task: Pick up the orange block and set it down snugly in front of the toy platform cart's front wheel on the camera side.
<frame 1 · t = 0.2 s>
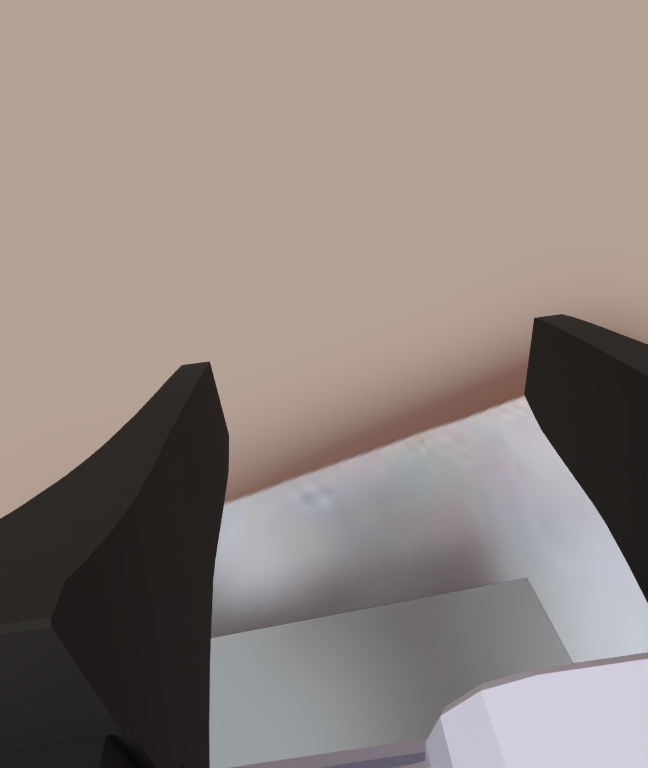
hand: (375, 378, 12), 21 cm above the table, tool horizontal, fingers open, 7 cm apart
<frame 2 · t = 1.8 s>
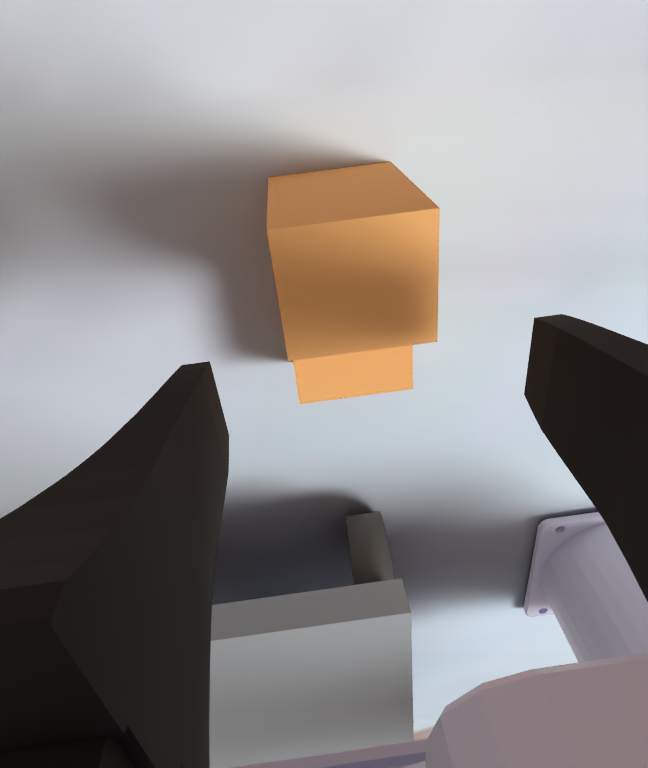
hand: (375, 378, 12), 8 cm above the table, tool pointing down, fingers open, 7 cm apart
orange block: (338, 270, 19), on the table
toy platform cart: (283, 622, 30), on the table
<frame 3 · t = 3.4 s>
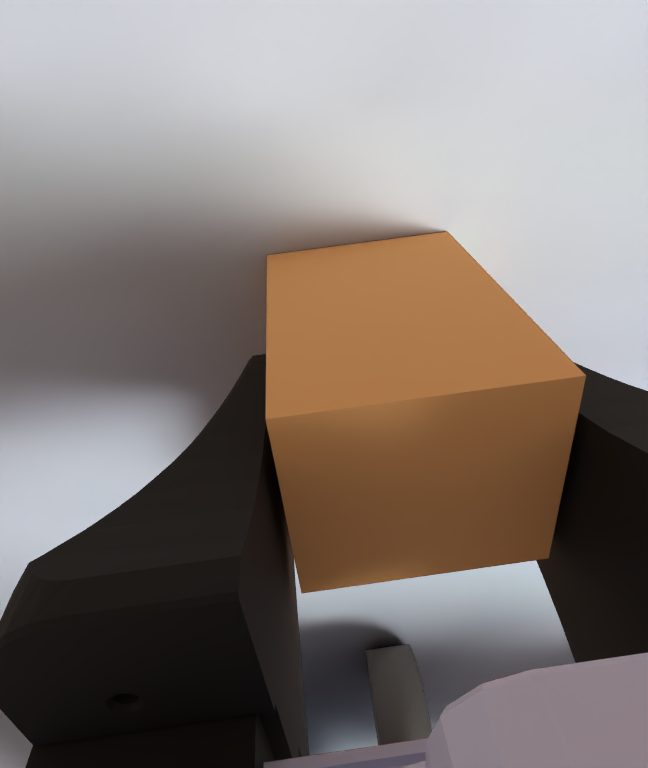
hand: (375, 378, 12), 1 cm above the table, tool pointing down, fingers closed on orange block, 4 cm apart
orange block: (366, 376, 13), on the table, touching gripper
toy platform cart: (286, 753, 24), on the table
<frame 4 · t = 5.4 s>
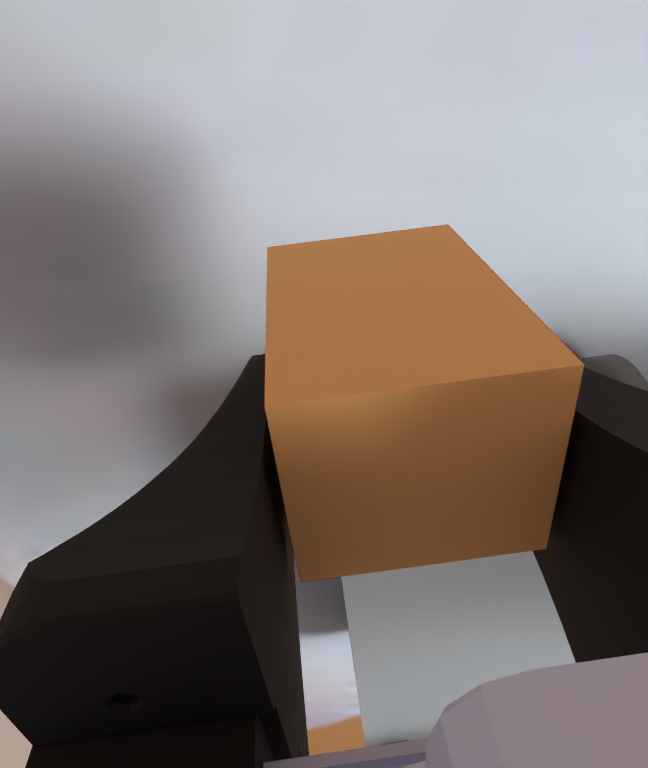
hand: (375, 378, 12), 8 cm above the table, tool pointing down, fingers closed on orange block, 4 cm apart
orange block: (366, 370, 13), point 7 cm above the table, touching gripper
toy platform cart: (451, 512, 27), on the table
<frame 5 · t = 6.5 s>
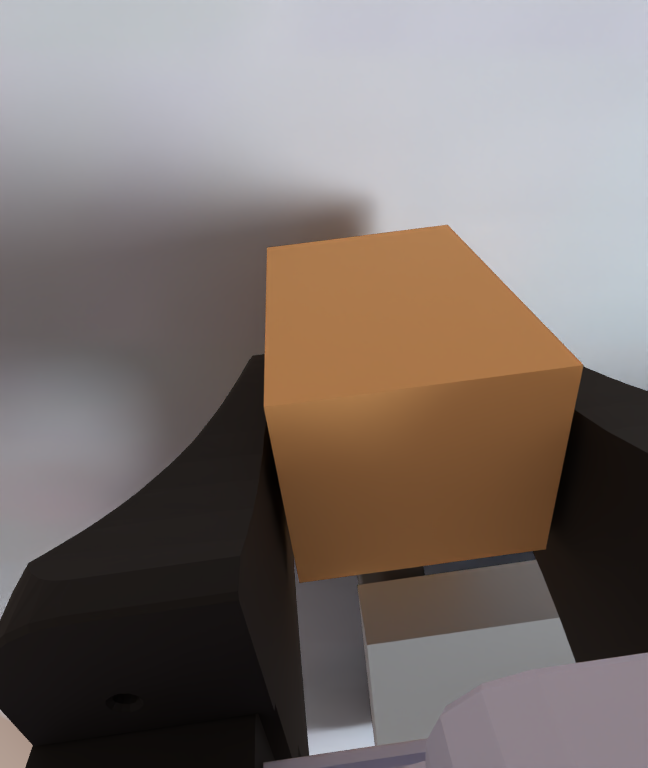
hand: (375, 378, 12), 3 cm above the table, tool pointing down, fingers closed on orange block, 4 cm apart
orange block: (366, 370, 13), point 1 cm above the table, touching gripper
toy platform cart: (496, 602, 22), on the table
when the fingers open (3 cm above the table, at t = 7.3 s): orange block drops 2 cm, on the table.
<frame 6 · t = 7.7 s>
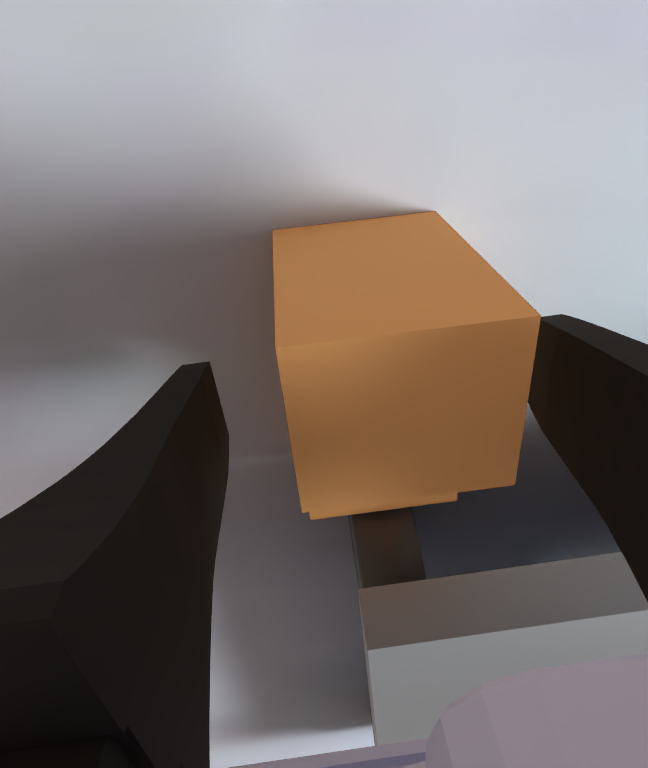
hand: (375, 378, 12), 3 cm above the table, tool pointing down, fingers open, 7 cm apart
orange block: (361, 344, 15), on the table
toy platform cart: (497, 604, 22), on the table
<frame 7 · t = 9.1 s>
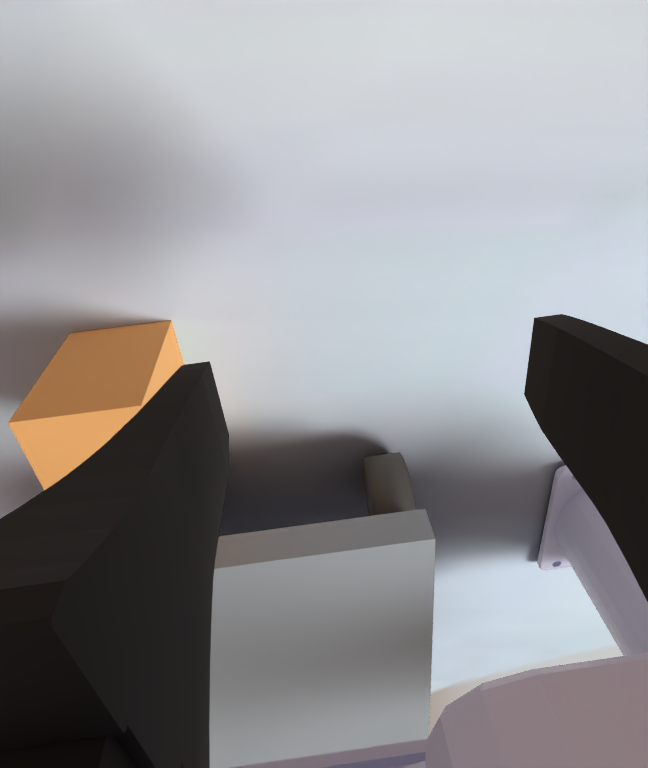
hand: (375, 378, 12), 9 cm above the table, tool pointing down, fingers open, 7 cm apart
orange block: (146, 397, 23), on the table
toy platform cart: (297, 574, 30), on the table
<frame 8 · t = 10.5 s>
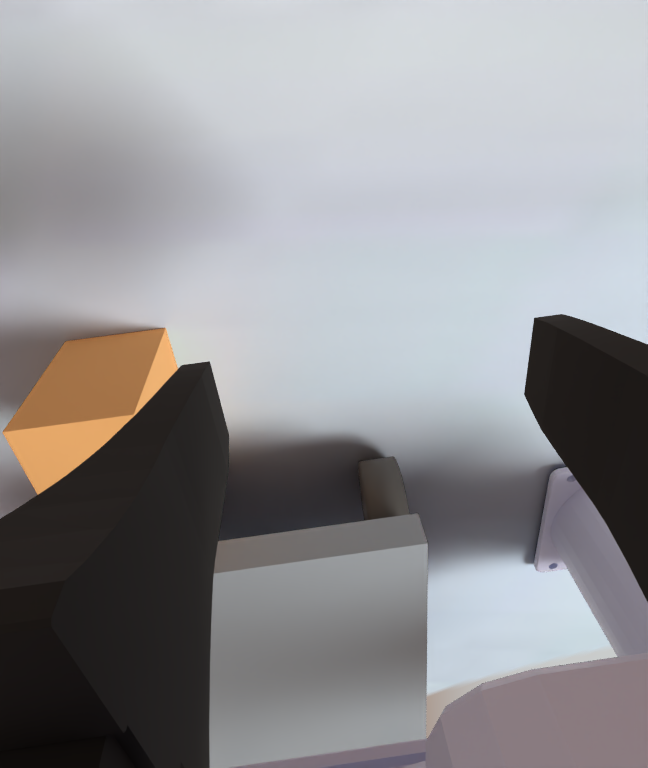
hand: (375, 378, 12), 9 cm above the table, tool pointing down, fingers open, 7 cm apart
orange block: (142, 403, 23), on the table
toy platform cart: (294, 577, 30), on the table
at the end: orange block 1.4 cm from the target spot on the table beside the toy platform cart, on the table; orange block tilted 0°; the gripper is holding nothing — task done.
